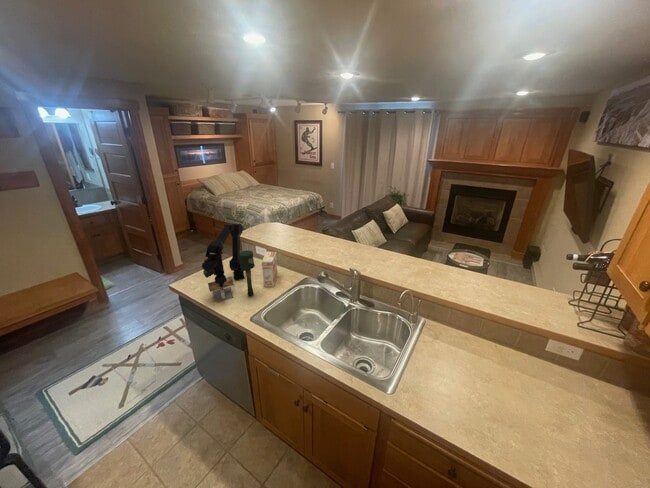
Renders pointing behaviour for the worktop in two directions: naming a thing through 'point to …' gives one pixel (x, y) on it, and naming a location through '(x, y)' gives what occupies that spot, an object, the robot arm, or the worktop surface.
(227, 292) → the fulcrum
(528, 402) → the worktop surface
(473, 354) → the worktop surface
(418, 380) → the worktop surface
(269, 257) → the coffeecake box
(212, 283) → the plank
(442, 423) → the worktop surface
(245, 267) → the potato masher grenade
